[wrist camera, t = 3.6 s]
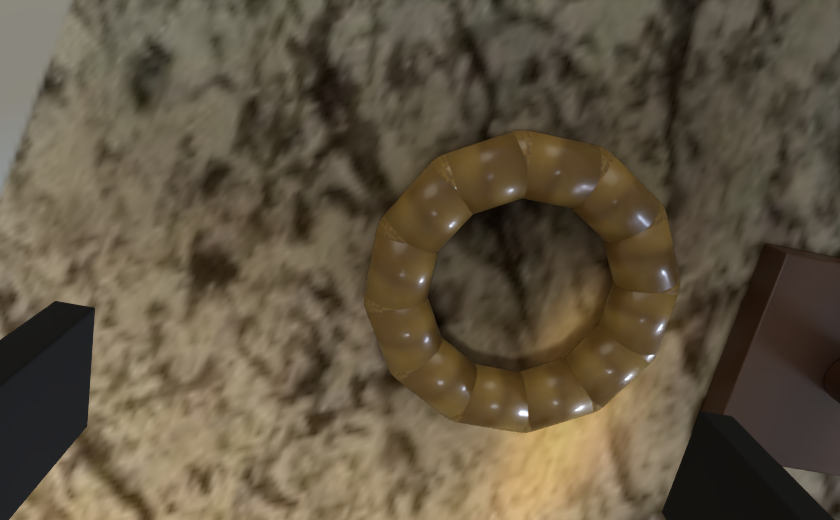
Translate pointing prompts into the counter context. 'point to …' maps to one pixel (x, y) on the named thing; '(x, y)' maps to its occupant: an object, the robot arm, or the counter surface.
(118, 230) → the counter surface
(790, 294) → the post
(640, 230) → the ring
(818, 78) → the counter surface
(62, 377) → the robot arm
